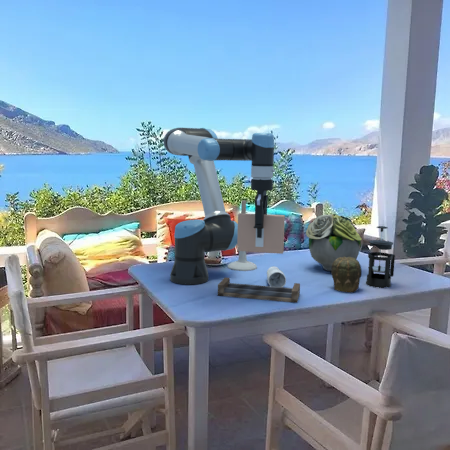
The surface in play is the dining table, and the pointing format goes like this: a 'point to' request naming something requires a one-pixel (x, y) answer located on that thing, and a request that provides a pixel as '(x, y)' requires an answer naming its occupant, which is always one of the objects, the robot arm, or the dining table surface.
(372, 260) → the french press
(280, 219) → the door panel
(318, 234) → the flower arrangement
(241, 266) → the candlestick
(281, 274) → the drinking glass
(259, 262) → the dining table surface
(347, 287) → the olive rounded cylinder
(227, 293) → the brown wooden rack
